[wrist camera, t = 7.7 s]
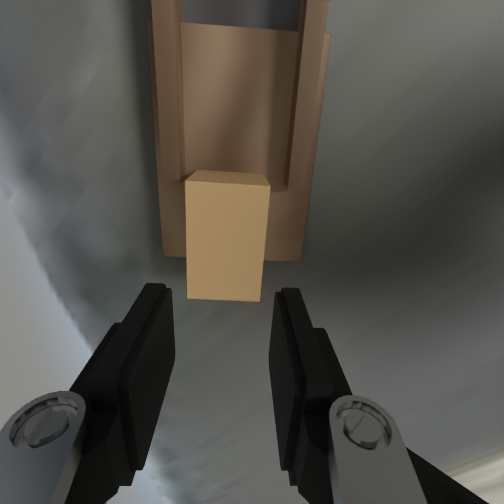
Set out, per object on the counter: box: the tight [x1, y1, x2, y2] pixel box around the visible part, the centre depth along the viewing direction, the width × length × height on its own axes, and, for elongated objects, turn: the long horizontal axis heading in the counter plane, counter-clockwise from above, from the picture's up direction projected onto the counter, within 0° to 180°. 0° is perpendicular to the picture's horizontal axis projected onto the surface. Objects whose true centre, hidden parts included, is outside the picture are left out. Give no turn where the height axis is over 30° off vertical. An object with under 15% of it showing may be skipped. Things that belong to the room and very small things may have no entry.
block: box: [185, 170, 271, 302], centre depth 21 cm, size 5×8×5 cm, turn 176°
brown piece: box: [146, 0, 331, 262], centre depth 20 cm, size 12×22×3 cm, turn 177°
